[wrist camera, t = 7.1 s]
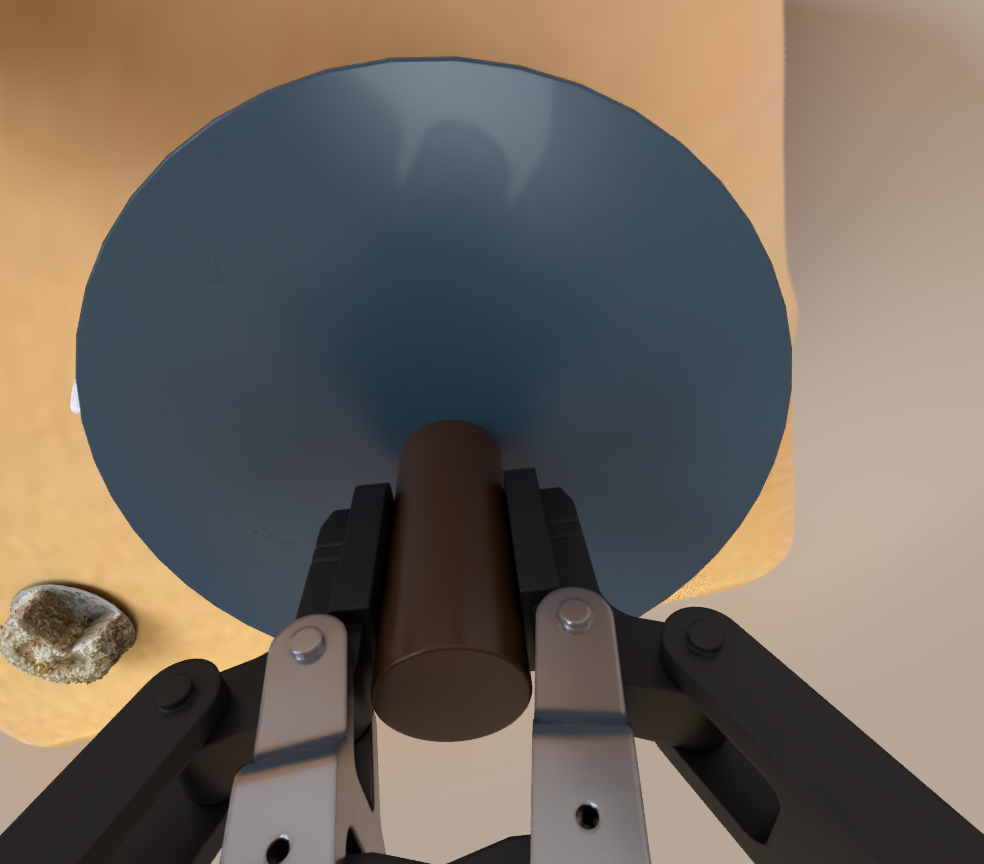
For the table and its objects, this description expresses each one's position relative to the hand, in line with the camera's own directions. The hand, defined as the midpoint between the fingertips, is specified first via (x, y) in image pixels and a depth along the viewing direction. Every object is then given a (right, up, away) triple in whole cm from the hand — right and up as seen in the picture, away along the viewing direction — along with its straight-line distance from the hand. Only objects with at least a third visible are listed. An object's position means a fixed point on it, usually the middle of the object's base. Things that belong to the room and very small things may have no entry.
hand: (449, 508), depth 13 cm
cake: (-35, -14, +37) cm, 53 cm away
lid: (0, +1, +2) cm, 2 cm away
